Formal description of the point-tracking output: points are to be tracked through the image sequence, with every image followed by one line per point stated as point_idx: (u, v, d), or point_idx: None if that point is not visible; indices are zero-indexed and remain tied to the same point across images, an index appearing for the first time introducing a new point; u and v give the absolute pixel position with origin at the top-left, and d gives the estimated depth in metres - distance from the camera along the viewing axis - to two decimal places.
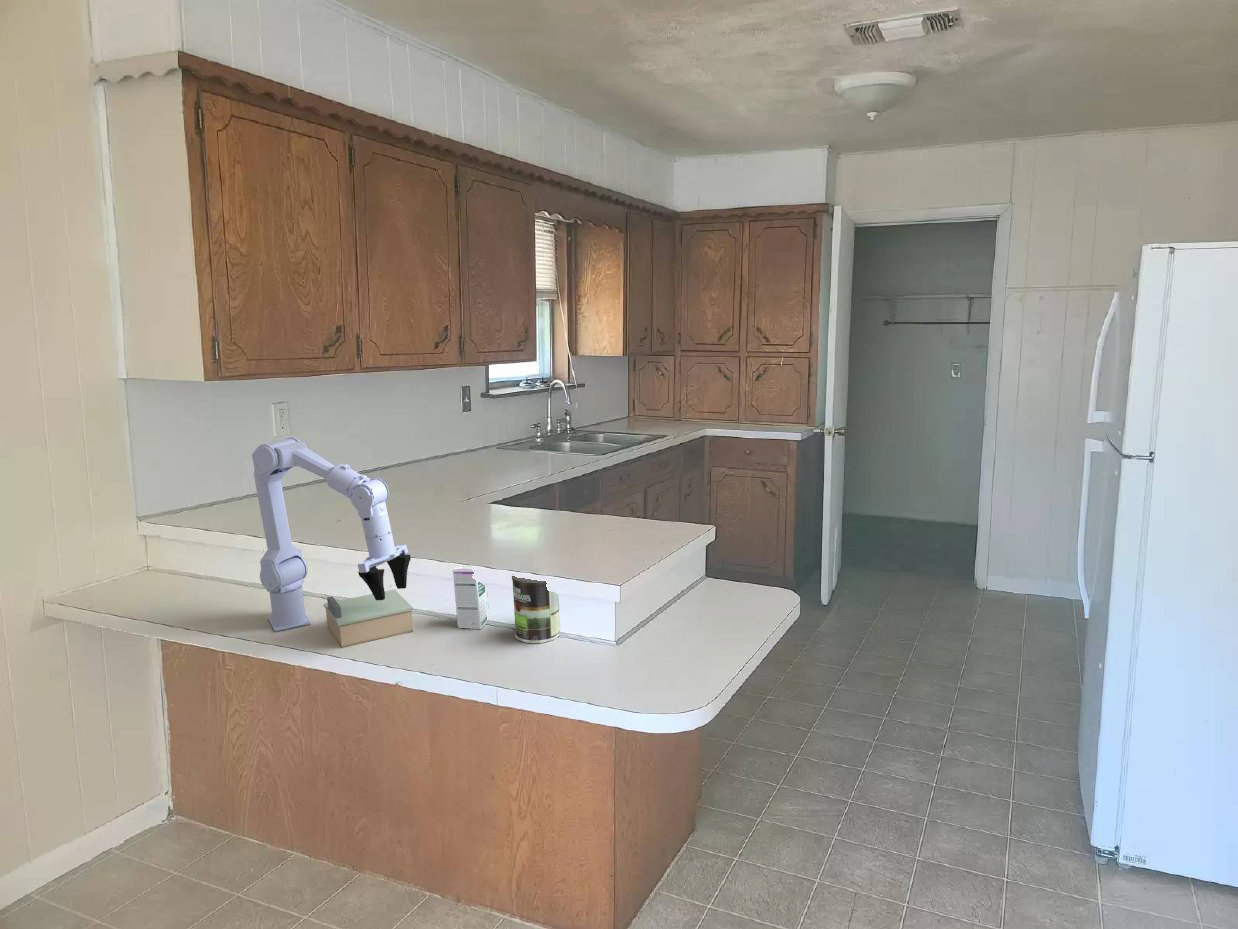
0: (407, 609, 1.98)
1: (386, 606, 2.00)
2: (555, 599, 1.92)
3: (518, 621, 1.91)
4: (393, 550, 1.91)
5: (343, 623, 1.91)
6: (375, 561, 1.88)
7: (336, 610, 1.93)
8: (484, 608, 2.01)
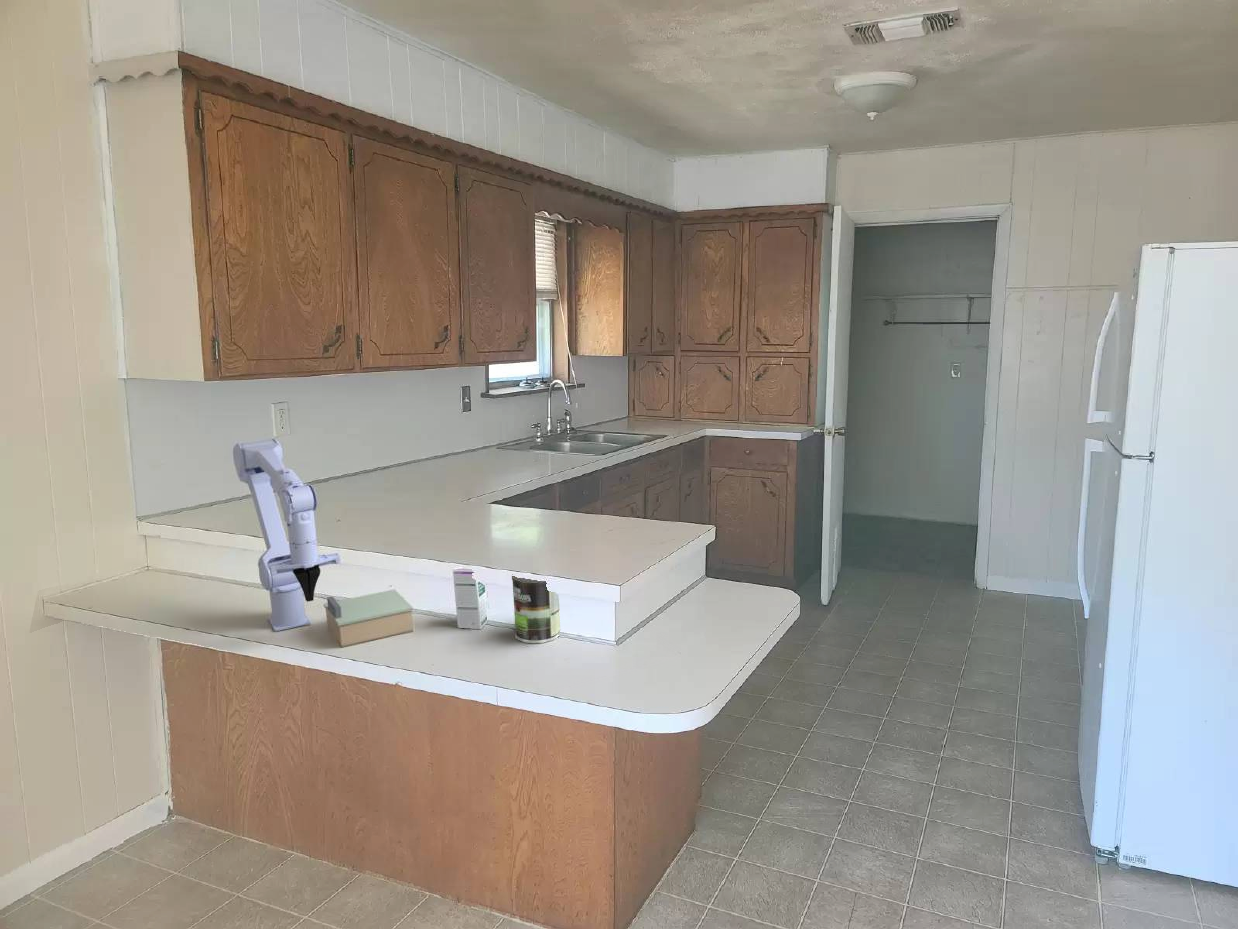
0: (407, 609, 1.98)
1: (386, 606, 2.00)
2: (555, 599, 1.92)
3: (518, 621, 1.91)
4: (309, 560, 1.89)
5: (343, 623, 1.91)
6: (284, 567, 1.88)
7: (336, 610, 1.93)
8: (484, 608, 2.01)
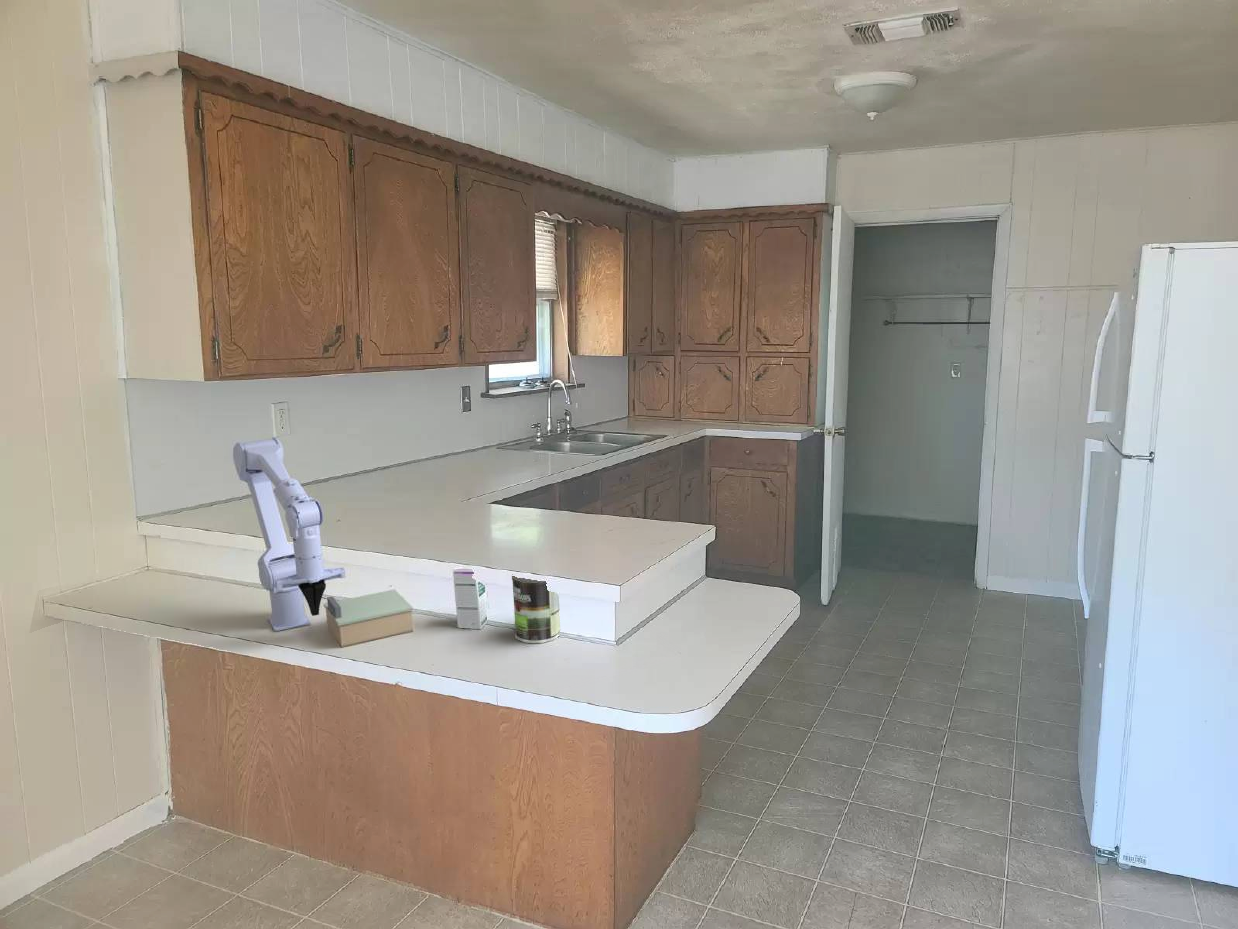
0: (407, 609, 1.98)
1: (386, 606, 2.00)
2: (555, 599, 1.92)
3: (518, 621, 1.91)
4: (314, 575, 1.90)
5: (343, 623, 1.91)
6: (290, 582, 1.89)
7: (336, 610, 1.93)
8: (484, 608, 2.01)
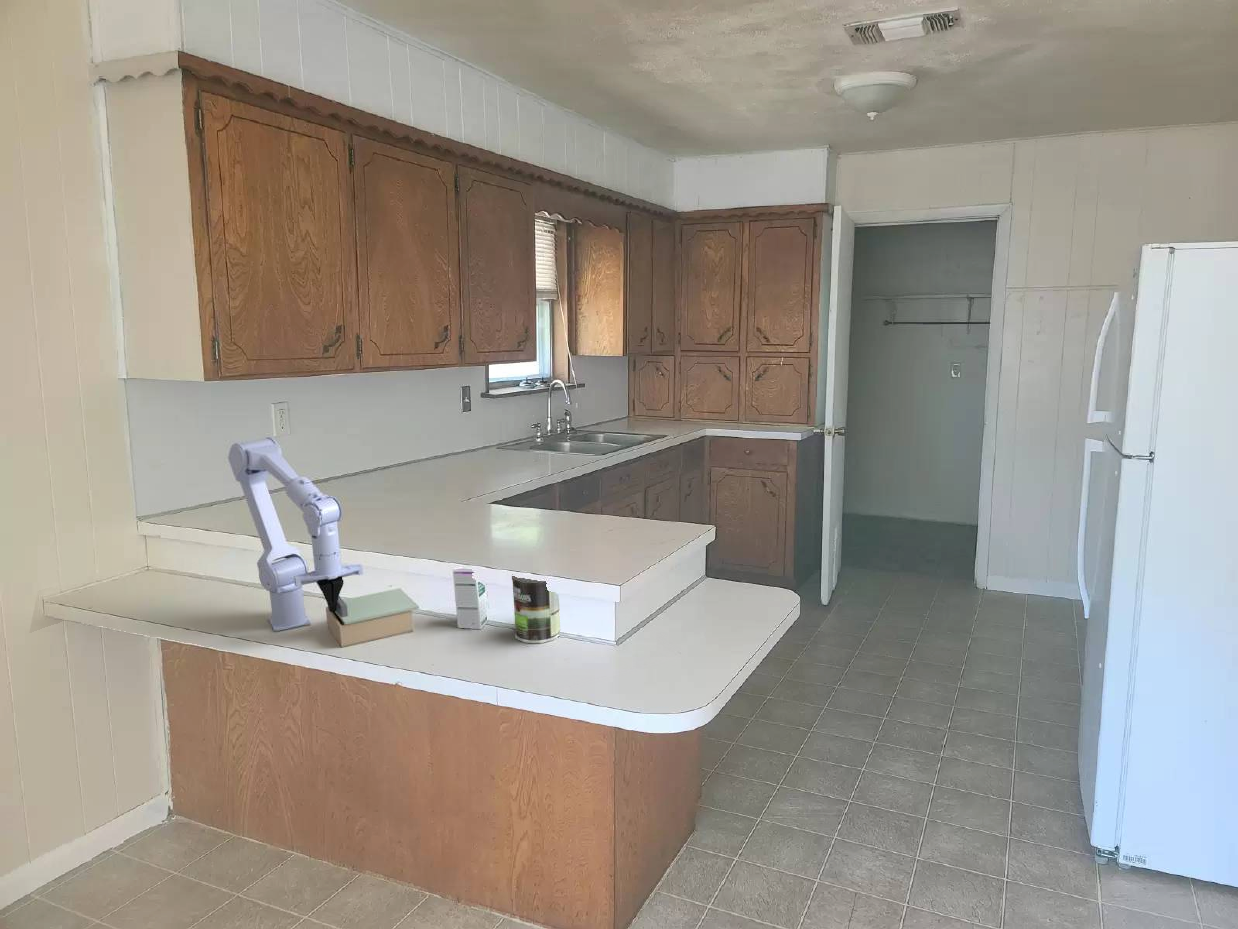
0: (413, 607, 1.98)
1: (392, 605, 2.00)
2: (555, 599, 1.92)
3: (518, 621, 1.91)
4: (332, 571, 1.92)
5: (349, 622, 1.91)
6: (309, 578, 1.91)
7: (342, 609, 1.94)
8: (484, 608, 2.01)
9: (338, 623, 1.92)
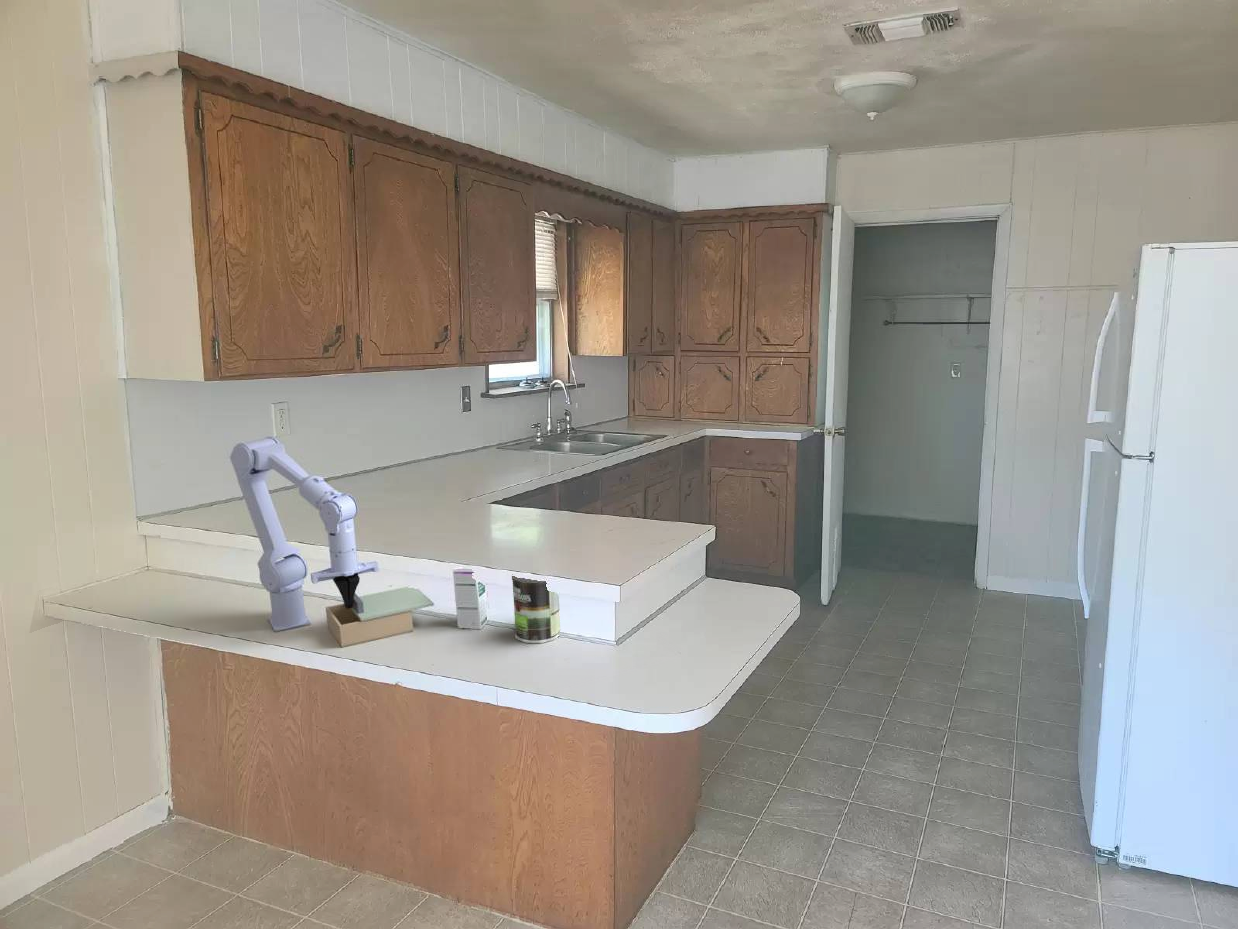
0: (428, 604, 2.00)
1: (407, 601, 2.02)
2: (555, 599, 1.92)
3: (518, 621, 1.91)
4: (349, 568, 1.94)
5: (366, 618, 1.93)
6: (325, 575, 1.93)
7: (359, 605, 1.95)
8: (484, 608, 2.01)
9: (338, 623, 1.92)
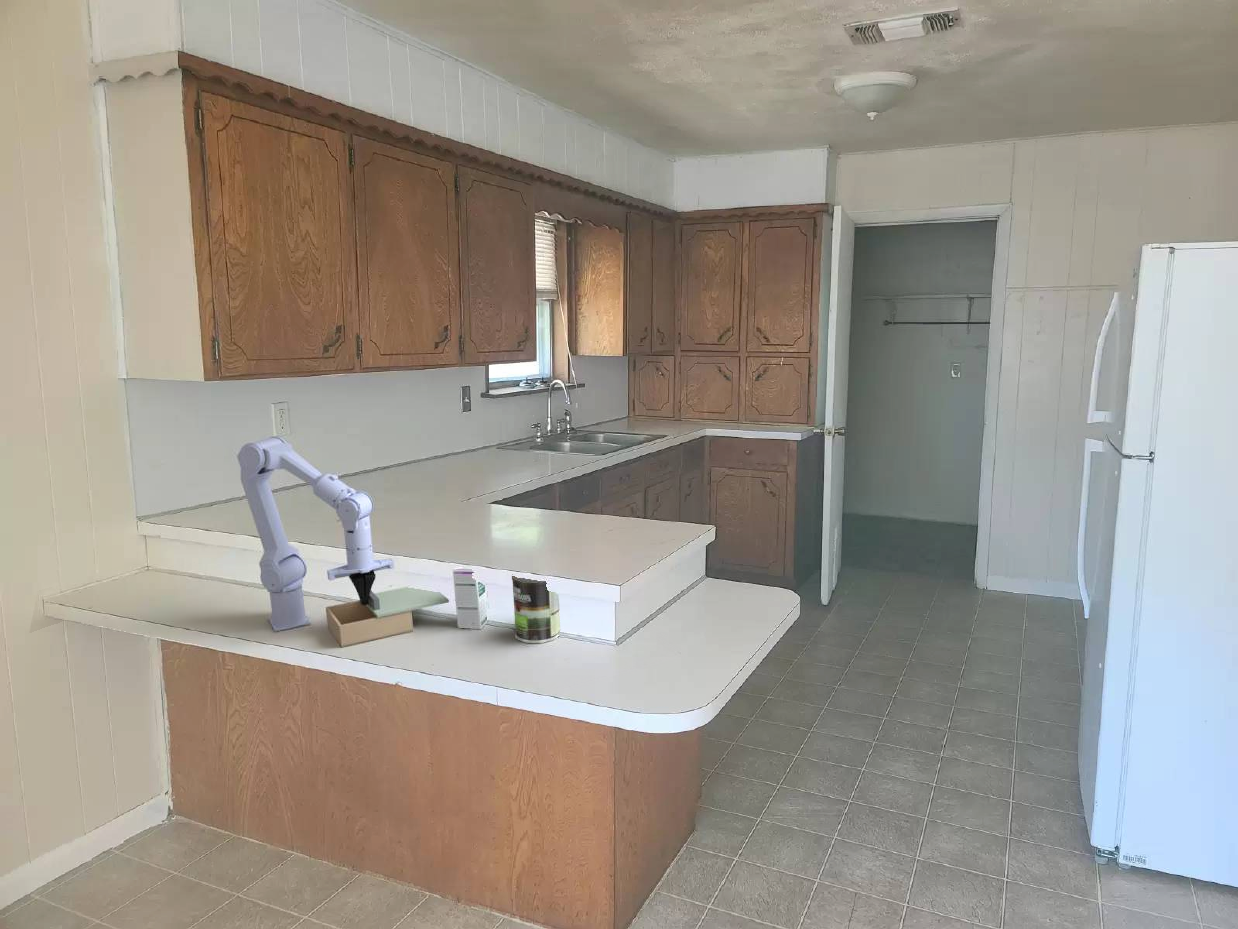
0: (443, 601, 2.02)
1: (422, 598, 2.04)
2: (555, 599, 1.92)
3: (518, 621, 1.91)
4: (365, 565, 1.96)
5: (382, 615, 1.95)
6: (342, 572, 1.95)
7: (375, 602, 1.97)
8: (484, 608, 2.01)
9: (338, 623, 1.92)
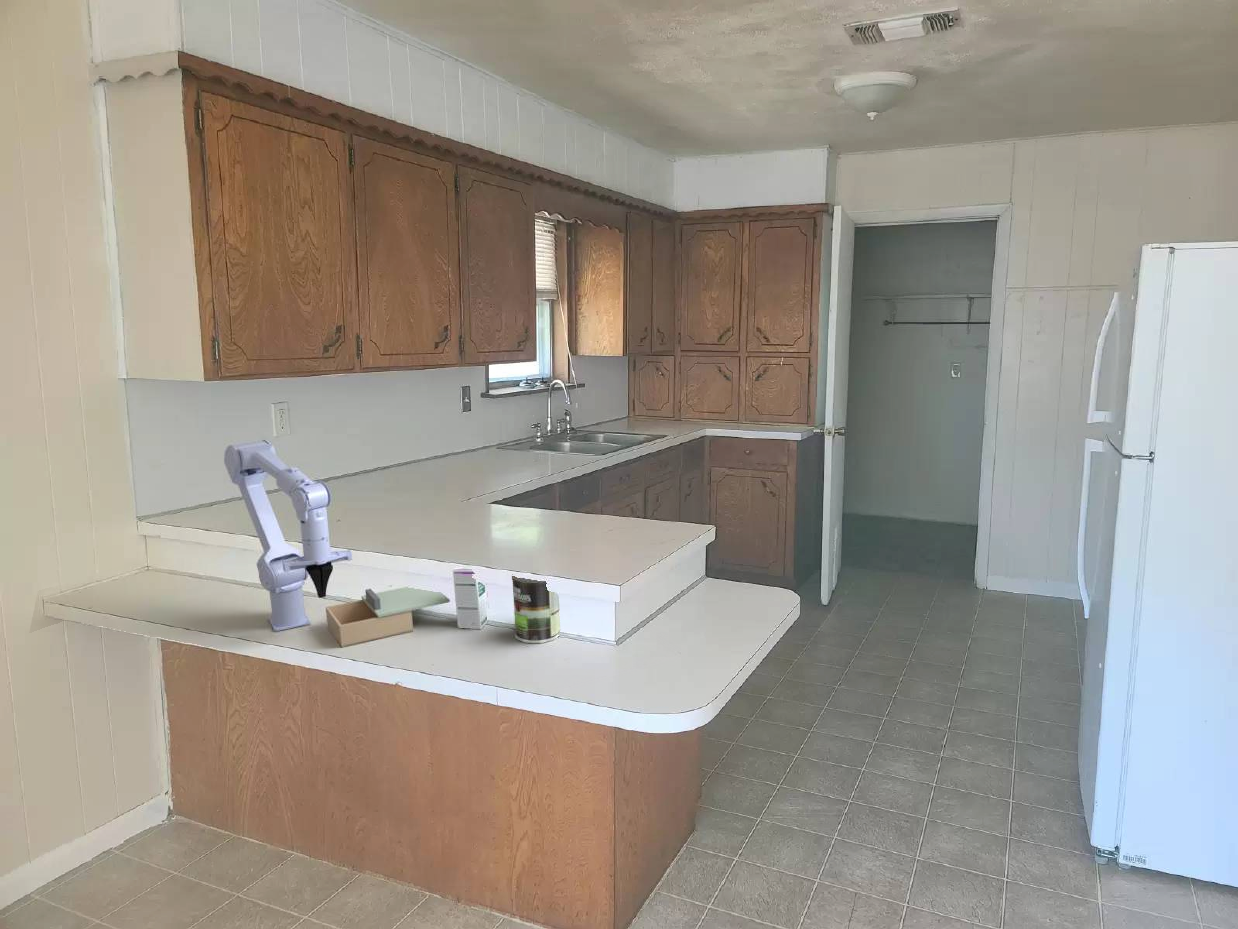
0: (444, 601, 2.02)
1: (423, 598, 2.04)
2: (555, 599, 1.92)
3: (518, 621, 1.91)
4: (322, 557, 1.92)
5: (383, 614, 1.95)
6: (297, 564, 1.90)
7: (375, 602, 1.97)
8: (484, 608, 2.01)
9: (338, 623, 1.92)
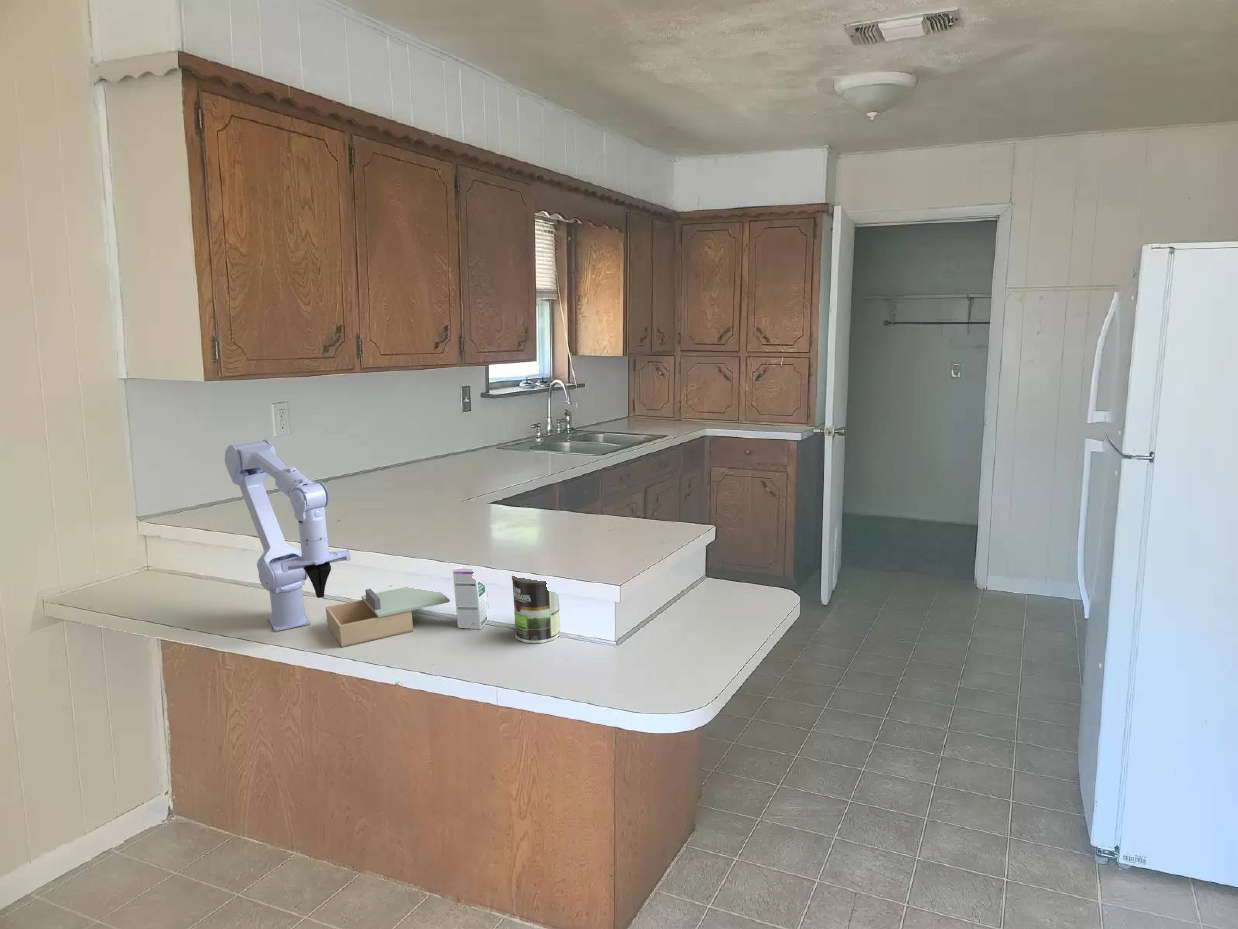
0: (444, 601, 2.02)
1: (423, 598, 2.04)
2: (555, 599, 1.92)
3: (518, 621, 1.91)
4: (320, 557, 1.91)
5: (383, 614, 1.95)
6: (296, 564, 1.90)
7: (375, 602, 1.97)
8: (484, 608, 2.01)
9: (338, 623, 1.92)
